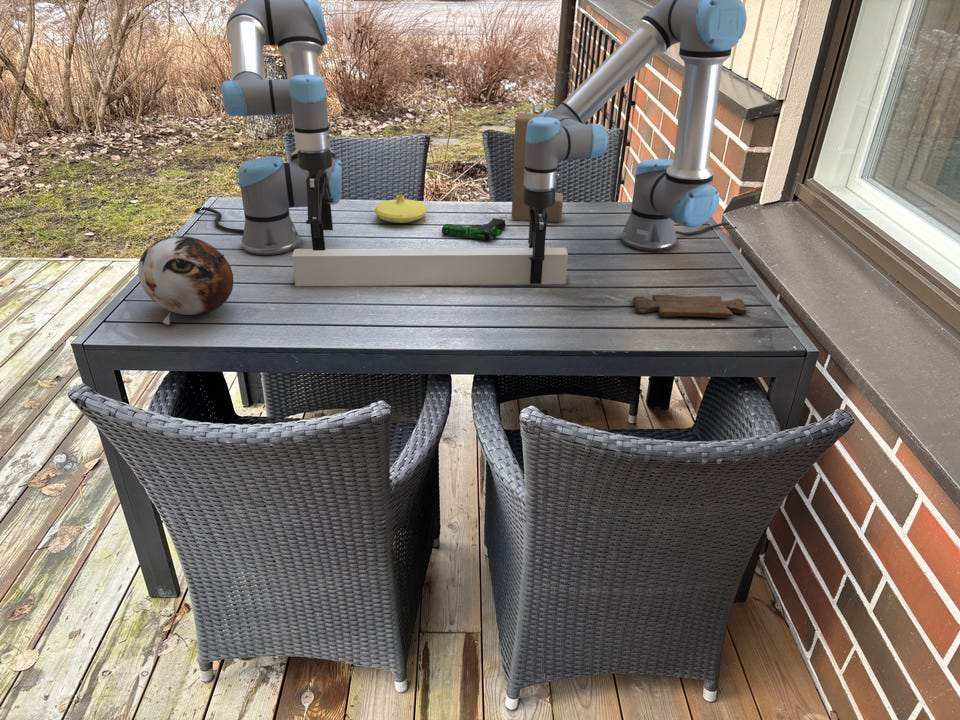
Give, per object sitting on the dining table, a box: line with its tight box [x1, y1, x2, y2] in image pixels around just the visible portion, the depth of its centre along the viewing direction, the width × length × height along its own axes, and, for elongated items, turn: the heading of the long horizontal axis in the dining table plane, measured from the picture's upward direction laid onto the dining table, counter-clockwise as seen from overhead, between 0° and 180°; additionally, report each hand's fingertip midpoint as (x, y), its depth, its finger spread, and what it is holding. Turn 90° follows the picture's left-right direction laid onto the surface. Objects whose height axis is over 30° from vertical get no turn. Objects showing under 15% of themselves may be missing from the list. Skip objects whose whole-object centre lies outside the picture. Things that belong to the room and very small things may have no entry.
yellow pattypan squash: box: [374, 194, 428, 224], centre depth 214 cm, size 16×16×7 cm
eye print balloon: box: [137, 235, 234, 326], centre depth 158 cm, size 22×18×20 cm
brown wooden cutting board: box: [632, 294, 747, 319], centre depth 166 cm, size 26×2×10 cm
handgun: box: [441, 217, 506, 242], centre depth 207 cm, size 16×3×15 cm
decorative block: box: [511, 112, 564, 223], centre depth 211 cm, size 8×15×30 cm, turn 82°
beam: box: [291, 247, 569, 287], centre depth 176 cm, size 67×4×8 cm, turn 93°
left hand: (323, 239), depth 171 cm, fingers open, 13 cm apart
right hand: (534, 278), depth 179 cm, fingers closed on beam, 5 cm apart
